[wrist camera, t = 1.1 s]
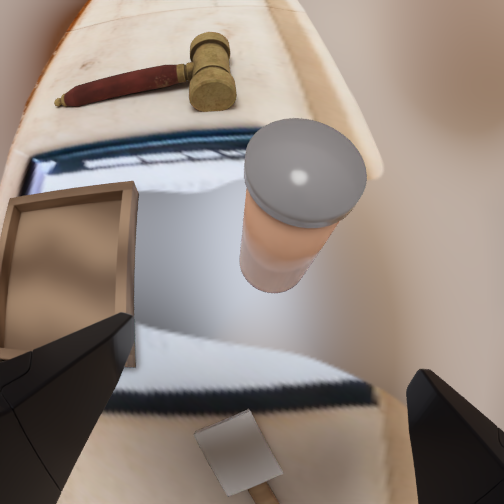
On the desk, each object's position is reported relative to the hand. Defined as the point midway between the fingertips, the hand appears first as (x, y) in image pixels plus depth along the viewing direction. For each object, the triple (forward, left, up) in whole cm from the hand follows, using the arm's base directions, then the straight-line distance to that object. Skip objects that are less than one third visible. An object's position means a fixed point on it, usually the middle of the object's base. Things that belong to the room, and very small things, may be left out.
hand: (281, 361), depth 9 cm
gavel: (+29, +10, -14) cm, 34 cm away
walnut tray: (+8, +14, -13) cm, 21 cm away
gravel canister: (+8, -2, -13) cm, 16 cm away
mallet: (-8, +1, -13) cm, 16 cm away
